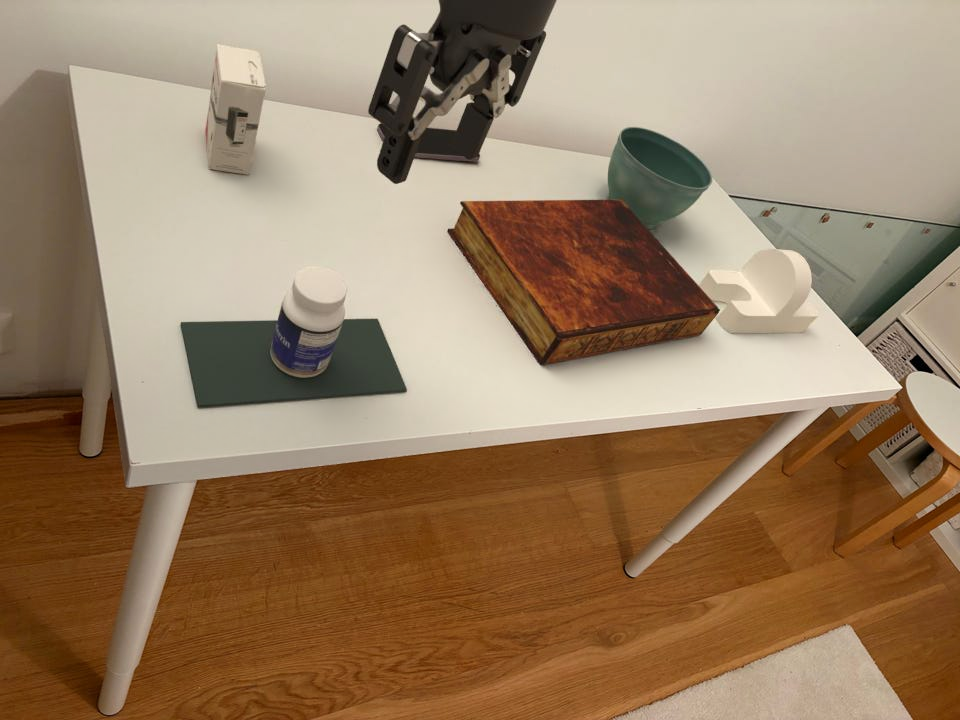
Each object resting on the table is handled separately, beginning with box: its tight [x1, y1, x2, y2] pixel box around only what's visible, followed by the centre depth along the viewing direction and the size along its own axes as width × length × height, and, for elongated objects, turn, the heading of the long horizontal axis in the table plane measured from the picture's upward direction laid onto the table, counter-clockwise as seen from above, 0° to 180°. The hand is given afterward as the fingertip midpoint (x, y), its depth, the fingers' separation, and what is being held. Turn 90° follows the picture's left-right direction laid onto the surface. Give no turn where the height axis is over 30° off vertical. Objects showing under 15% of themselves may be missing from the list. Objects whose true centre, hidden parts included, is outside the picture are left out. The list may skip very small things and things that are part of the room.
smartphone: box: [376, 122, 481, 163], centre depth 108 cm, size 7×1×15 cm
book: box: [447, 199, 721, 366], centre depth 96 cm, size 30×24×5 cm
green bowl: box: [606, 126, 713, 230], centre depth 115 cm, size 16×16×11 cm
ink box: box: [205, 43, 267, 176], centre depth 85 cm, size 9×5×12 cm, turn 17°
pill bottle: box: [270, 265, 348, 378], centre depth 67 cm, size 6×6×10 cm
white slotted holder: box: [698, 248, 820, 334], centre depth 108 cm, size 10×18×11 cm, turn 112°
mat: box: [180, 318, 408, 409], centre depth 70 cm, size 20×10×1 cm, turn 114°
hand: (428, 164), depth 53 cm, fingers open, 8 cm apart
